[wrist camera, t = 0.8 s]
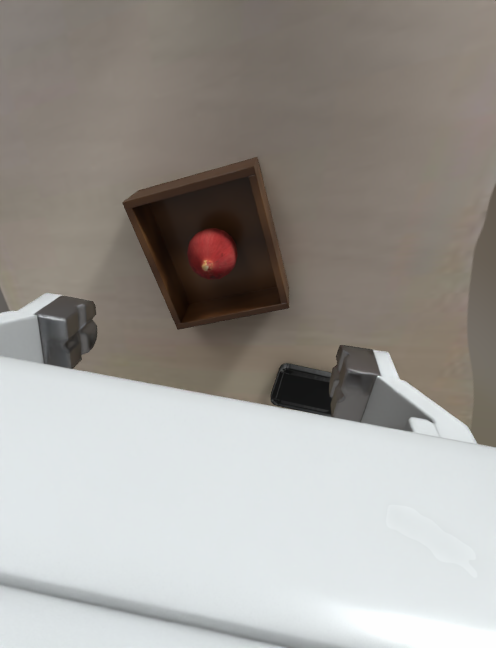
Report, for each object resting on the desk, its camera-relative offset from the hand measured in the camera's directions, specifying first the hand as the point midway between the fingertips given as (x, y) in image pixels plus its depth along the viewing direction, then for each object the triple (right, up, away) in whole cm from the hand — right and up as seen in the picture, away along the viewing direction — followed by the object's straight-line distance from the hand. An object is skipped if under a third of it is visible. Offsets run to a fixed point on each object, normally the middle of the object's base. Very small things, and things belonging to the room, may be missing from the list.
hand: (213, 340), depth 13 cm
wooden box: (-3, +11, +35) cm, 37 cm away
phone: (+13, -10, +47) cm, 50 cm away
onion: (-3, +11, +35) cm, 37 cm away
